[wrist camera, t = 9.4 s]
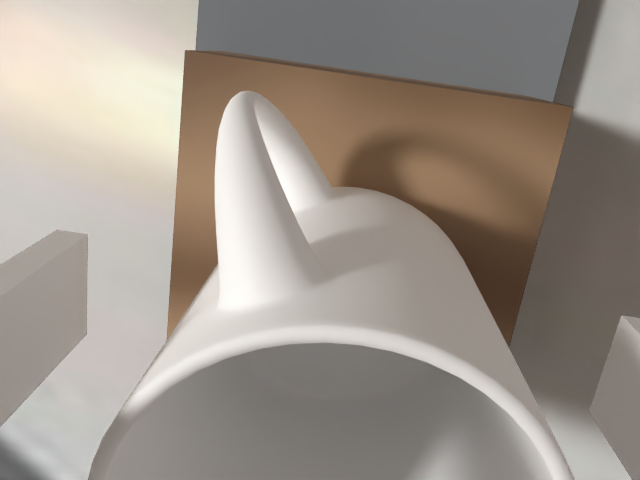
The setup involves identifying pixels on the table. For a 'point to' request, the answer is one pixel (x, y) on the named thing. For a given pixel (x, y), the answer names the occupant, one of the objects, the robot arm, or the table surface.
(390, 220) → the mug
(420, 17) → the slate tile
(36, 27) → the table surface
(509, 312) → the walnut block
